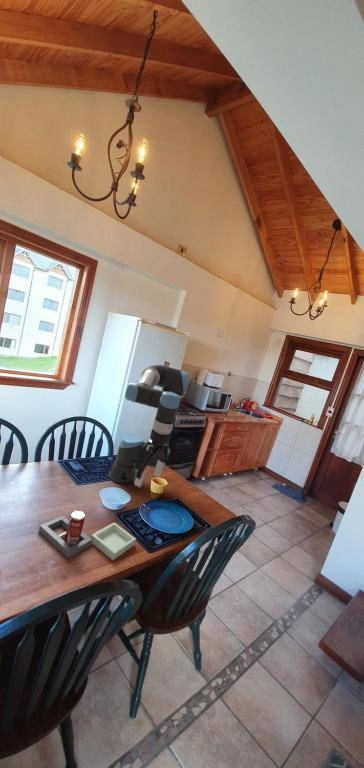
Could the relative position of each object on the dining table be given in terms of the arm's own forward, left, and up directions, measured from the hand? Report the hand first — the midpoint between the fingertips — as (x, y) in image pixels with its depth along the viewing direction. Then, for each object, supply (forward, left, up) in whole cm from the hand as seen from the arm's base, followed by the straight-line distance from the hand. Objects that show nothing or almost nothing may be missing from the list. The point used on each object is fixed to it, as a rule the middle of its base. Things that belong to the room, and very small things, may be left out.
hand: (147, 480), depth 123 cm
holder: (-14, -23, -24) cm, 36 cm away
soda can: (-10, -23, -24) cm, 35 cm away
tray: (-1, -11, -24) cm, 26 cm away
